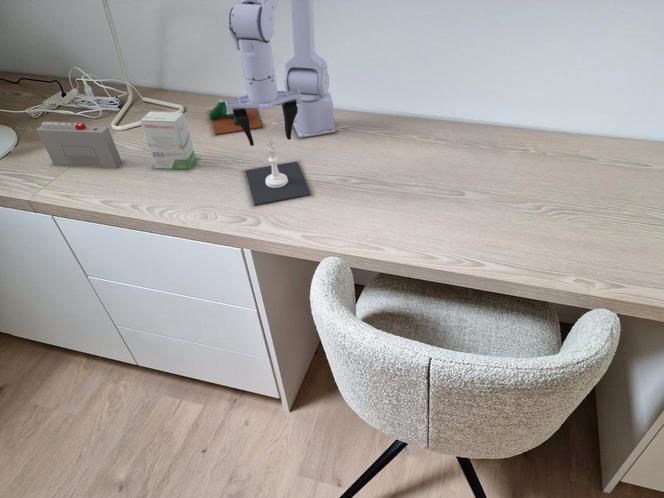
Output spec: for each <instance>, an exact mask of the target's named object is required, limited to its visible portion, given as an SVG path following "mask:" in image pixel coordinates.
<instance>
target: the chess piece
mask: <svg viewBox="0 0 664 498" xmlns="http://www.w3.org/2000/svg"><path fill="white" fill-rule="evenodd" d="M274 144H275V142H274V141H273V140H272V139H269V140H268V144H267V148H266V152H267V153H268V155H269V157H268V159H267V160H268V162H269V163H270V164H271V165H270V166H272V174H270V175H269V176H267V177H266V185H267V186H269V187H272V188H278V187H282V186H284V185H286V184H287V182H288V179H287V176H286V175H285V174H282V173H279V171H278V167H277V165H278V164H277V162H278V161H279V158H278V156H276V154H277V147H276V146H273V145H274Z"/></svg>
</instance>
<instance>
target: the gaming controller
mask: <svg viewBox="0 0 664 498" xmlns="http://www.w3.org/2000/svg"><path fill="white" fill-rule="evenodd" d="M225 101H226V100H224V99H222V98H220V99H219V102H218V103H217V105H215V107H214V108H212V109H211V110H210V111H211V112H209V120H210V121H212V120H216V119H217V118H219V117H220V116H222V115H223V116H225V117H233V118H234V124H235V125H238V124H239V123H238V122H237V121H236V119H235V116H234V113H233V114H228V112H227V108H226V103H225Z"/></svg>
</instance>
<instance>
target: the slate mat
mask: <svg viewBox="0 0 664 498" xmlns="http://www.w3.org/2000/svg"><path fill="white" fill-rule="evenodd" d="M277 167H278V171H279V173H282V174H285V175H286V176H287V179H288V182H287V184H286V185H284V186H282V187H278V188H272V187H269V186H267V185H266V177H267V176H269V175H270V174H272V165H268V166H262V167H257V168H251V169H245V171H244V172H245V175H246V179H247V182H248V183H247V184H248V186H249V190H250V194H251V197H252V200H253V201H252V202H253V204H254V205H253V206H255V207H257V206H263V205H267V204H272V203H276V202H281V201H288V200H292V199H298V198H303V197H307V196H308V197H309V196H311V195H312V194H311V192H310V189H309V187H308V185H307V182H306V180H305V178H304V175H303V173H302V170H301V168H300V166H299V163H298V161H290V162H285V163H280V164H277Z"/></svg>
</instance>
